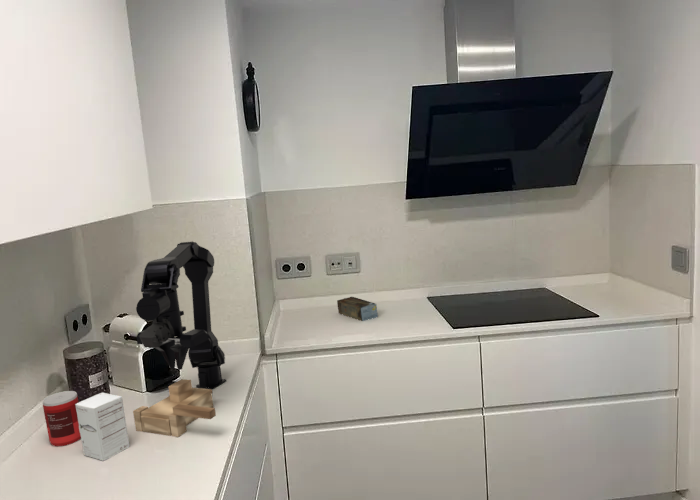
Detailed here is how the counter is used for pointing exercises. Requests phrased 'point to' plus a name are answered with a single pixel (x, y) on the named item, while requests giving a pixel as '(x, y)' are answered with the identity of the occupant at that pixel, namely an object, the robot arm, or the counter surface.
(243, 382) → the counter surface
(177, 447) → the counter surface
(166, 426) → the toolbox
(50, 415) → the canned food
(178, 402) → the lid
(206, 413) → the brown wooden bar
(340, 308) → the beverage carton
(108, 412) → the supplement box
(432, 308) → the counter surface
